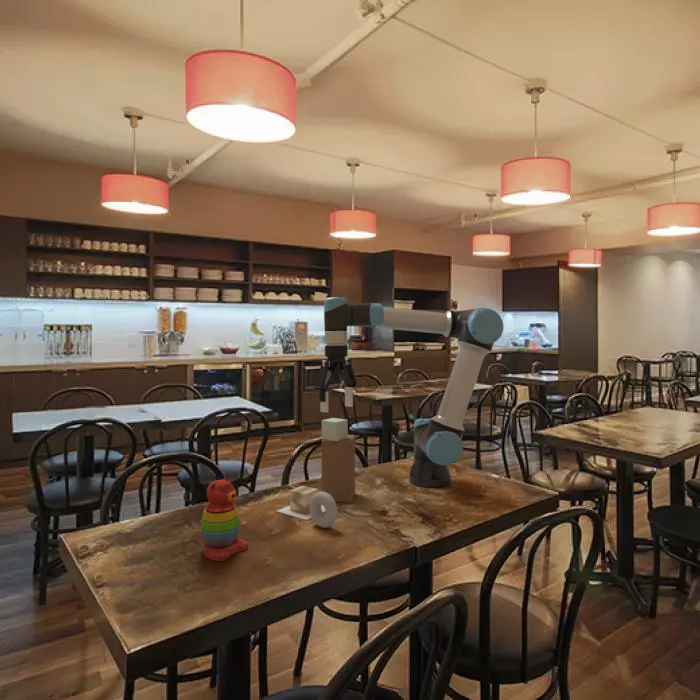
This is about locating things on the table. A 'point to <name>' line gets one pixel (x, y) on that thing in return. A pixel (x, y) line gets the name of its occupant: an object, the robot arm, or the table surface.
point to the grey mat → (297, 513)
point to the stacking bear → (221, 522)
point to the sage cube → (334, 429)
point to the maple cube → (301, 499)
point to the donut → (329, 506)
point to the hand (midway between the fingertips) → (337, 409)
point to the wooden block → (339, 468)
